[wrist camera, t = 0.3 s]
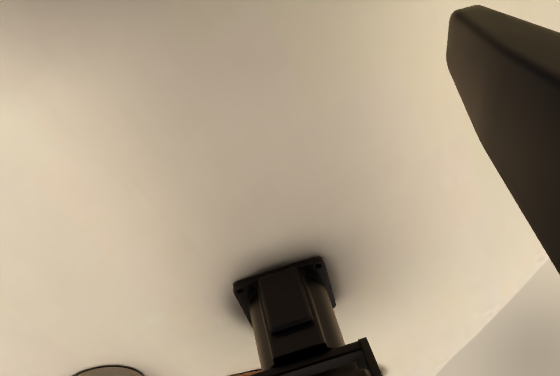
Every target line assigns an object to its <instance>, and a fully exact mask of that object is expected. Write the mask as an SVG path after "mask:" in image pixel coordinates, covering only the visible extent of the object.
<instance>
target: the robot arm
mask: <svg viewBox="0 0 560 376" xmlns="http://www.w3.org/2000/svg"><path fill="white" fill-rule="evenodd" d="M446 60H447V65H448V69H449V71H450V74H451V76H452V78H453V81H454V83H455V85H456V87H457V90H458V92H459V94H460V97H461V99H462V101H463V104H464V106H465V108H466V110H467V113H468V115H469V117H470V120H471V122H472V124H473V127H474V129H475V131H476V133H477V135H478V137H479V140H480V142H481V144H482V145H483V147H484V149H485V151H486V152H487V154H488V156H489V158H490V159H491V161H492V163H493V164H494V166H495V168H496V169H497V171H498V173H499V174H500V176H501V178H502V179H503V181H504V183H505V184H506V186H507V188H508V189H509V191H510V193H511V194H512V196H513V198H514V199H515V201H516V203H517V204H518V206H519V208H520V209H521V211H522V213H523V214H524V216H525V218H526V219H527V221H528V223H529V224H530V226H531V228H532V229H533V231H534V233H535V234H536V236H537V238H538V239H539V241H540V243H541V244H542V246H543V248H544V249H545V251H546V253H547V254H548V256H549V258H550V259H551V261H552V263H553V264H554V266H555V268H556V269H557V271H558V273H559V274H560V33H559V32H556V31H553V30H550V29H547V28H544V27H541V26H538V25H536V24H533V23H530V22H527V21H524V20H521V19H518V18H515V17H513V16H510V15H507V14H504V13H501V12H498V11H495V10H492V9H490V8H487V7H484V6H481V5H474V6H470V7H466V8H463V9H459V10H456V11H454V12H453V13H452V14H451V17H450V21H449V30H448V41H447V52H446ZM233 290H234V294H235V296H236V298H237V300H238V301H239V303H240V305H241V307H242V309H243V311H244V313H245V315H246V317H247V318H248V320H249V322H250V324H251V326H252V328H253V330H254V335H255V340H256V345H257V349H258V354H259V359H260V363H261V368H262V371H261V372H258V373H255V374H252V375H249V376H382V374H381V371H380V369H379V367H378V364H377V362H376V359H375V357H374V355H373V352H372V350H371V348H370V345H369V343H368V340H367V338H366V337H365V338H362V339H358V341H357V342H354V343H351V344H347V345H345V343H344V340H343V337H342V334H341V331H340V328H339V325H338V322H337V319H336V316H335V314H334V311H333V308H335V306H336V303H335V299H334V295H333V292H332V288H331V284H330V281H329V277H328V273H327V270H326V266H325V263H324V260H323V258H321V257H315V258H312V259H309V260H306V261H303V262H300V263H296V264H293V265H290V266H287V267H284V268H281V269H278V270H275V271H271V272H268V273H265V274H262V275H259V276H256V277H253V278H250V279H246V280H243V281H240V282H237V283H235V284H234V285H233ZM244 376H246V375H244Z"/></svg>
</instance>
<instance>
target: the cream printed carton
mask: <svg viewBox="0 0 560 376" xmlns="http://www.w3.org/2000/svg"><path fill="white" fill-rule="evenodd" d="M261 371H262V370H259V371H254V372H249V373H244V374H239V375H234V376H244V375H246V376H249V375H252V374H255V373H258V372H261Z"/></svg>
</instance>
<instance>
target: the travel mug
mask: <svg viewBox="0 0 560 376" xmlns="http://www.w3.org/2000/svg"><path fill="white" fill-rule="evenodd" d="M77 376H142V375H141V374H140V373H138V372H136V371H134V370H131V369H128V368H123V367H102V368H96V369H92V370H89V371H86V372H83V373H81V374H79V375H77Z"/></svg>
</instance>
